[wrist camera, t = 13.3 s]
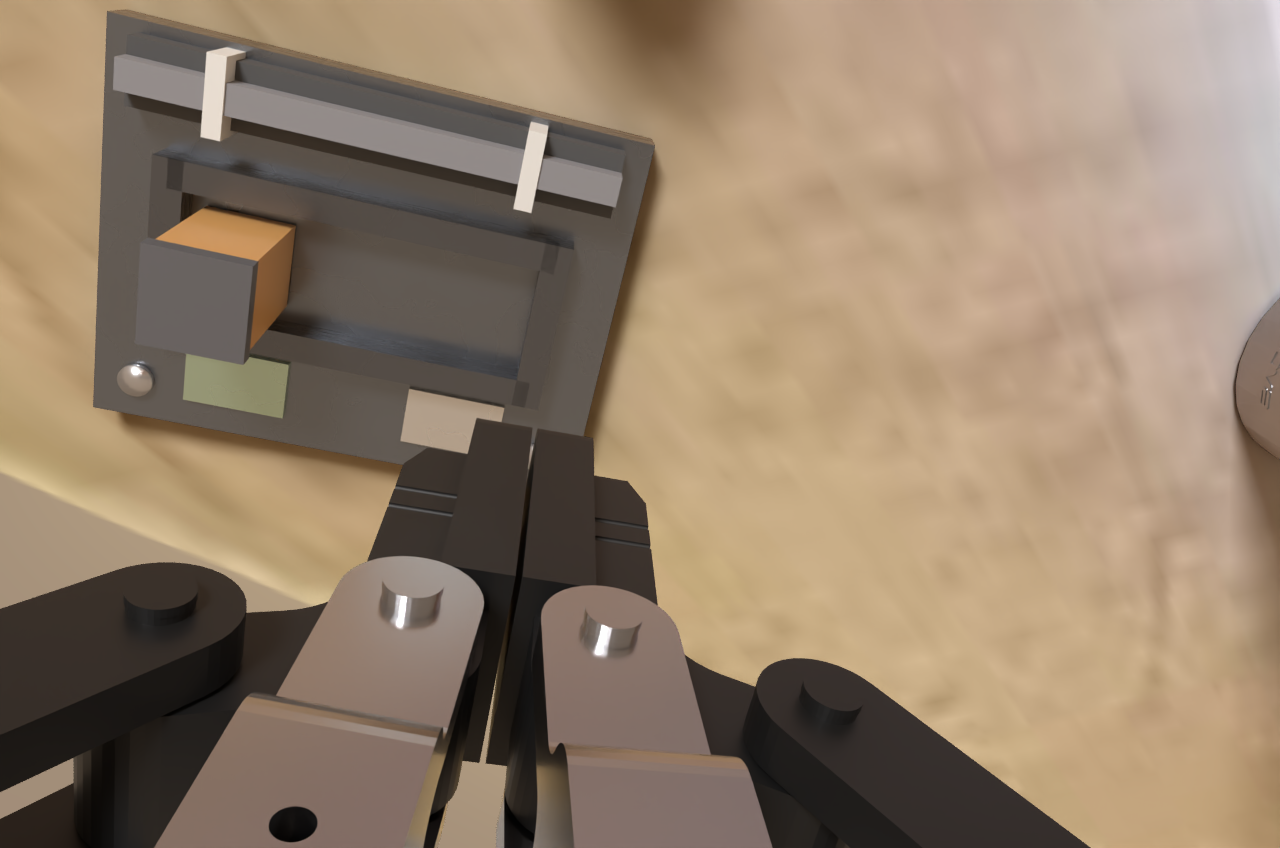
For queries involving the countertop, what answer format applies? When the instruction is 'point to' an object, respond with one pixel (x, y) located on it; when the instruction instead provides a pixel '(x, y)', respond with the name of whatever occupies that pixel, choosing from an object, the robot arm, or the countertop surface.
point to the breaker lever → (213, 284)
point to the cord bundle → (366, 125)
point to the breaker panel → (361, 278)
